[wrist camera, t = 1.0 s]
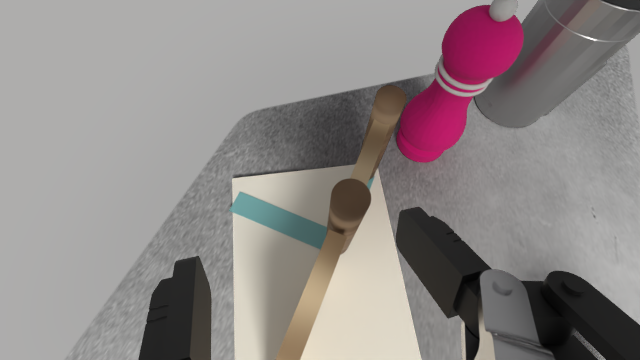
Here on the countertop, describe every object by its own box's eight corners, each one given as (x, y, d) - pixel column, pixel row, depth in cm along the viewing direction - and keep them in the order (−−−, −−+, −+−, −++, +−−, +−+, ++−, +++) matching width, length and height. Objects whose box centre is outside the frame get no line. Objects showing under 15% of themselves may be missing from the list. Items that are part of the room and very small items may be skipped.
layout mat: (375, 164, 38) (376, 161, 37) (425, 386, 28) (428, 388, 28) (230, 180, 37) (228, 178, 36) (232, 417, 27) (230, 419, 27)
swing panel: (320, 253, 32) (322, 219, 19) (341, 262, 32) (357, 233, 19) (260, 401, 27) (208, 488, 14) (284, 414, 27) (253, 514, 14)
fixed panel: (343, 258, 32) (363, 222, 18) (321, 249, 32) (324, 207, 19) (378, 166, 36) (415, 82, 23) (358, 159, 37) (383, 72, 23)
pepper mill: (389, 120, 40) (448, -36, 22) (441, 118, 41) (543, -37, 22) (396, 167, 38) (472, 34, 19) (452, 165, 38) (580, 32, 19)
